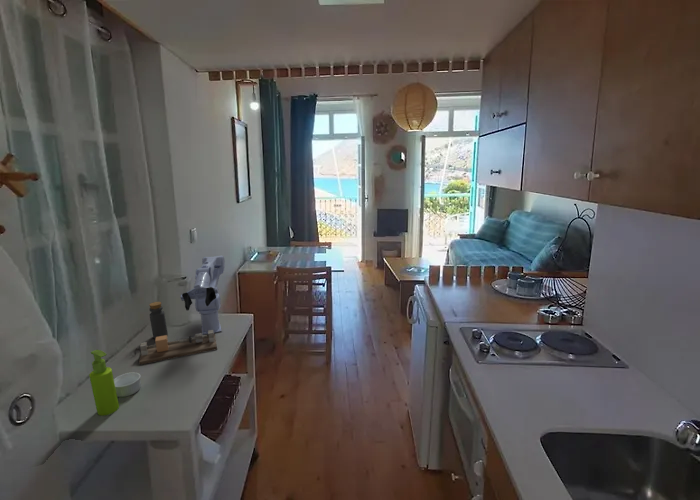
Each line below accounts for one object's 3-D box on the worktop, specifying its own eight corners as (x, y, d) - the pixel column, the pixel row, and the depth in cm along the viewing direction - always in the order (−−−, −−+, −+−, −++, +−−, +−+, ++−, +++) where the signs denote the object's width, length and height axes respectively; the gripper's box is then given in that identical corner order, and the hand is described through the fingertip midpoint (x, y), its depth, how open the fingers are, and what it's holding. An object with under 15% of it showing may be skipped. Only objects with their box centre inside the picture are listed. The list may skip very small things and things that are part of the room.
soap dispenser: (105, 419, 122) (92, 358, 117) (93, 412, 125) (80, 353, 121) (124, 408, 127) (113, 349, 122) (112, 402, 130) (101, 345, 125)
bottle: (170, 334, 178) (165, 302, 175) (158, 340, 173) (152, 307, 170) (162, 331, 181) (157, 300, 178) (150, 337, 177) (144, 304, 173)
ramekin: (126, 400, 131) (124, 388, 130) (106, 395, 134) (104, 384, 133) (148, 385, 139) (146, 374, 138) (129, 381, 142) (127, 370, 141)
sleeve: (157, 348, 162) (155, 337, 161) (168, 346, 164) (166, 335, 163) (157, 352, 159) (155, 341, 158) (168, 350, 160) (166, 339, 159)
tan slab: (142, 350, 165) (140, 338, 164) (215, 336, 175) (213, 325, 173) (139, 364, 153) (137, 352, 152) (217, 349, 163) (215, 337, 162)
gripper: (180, 282, 165) (174, 302, 154) (216, 274, 166) (212, 293, 155) (186, 295, 169) (180, 316, 157) (221, 288, 170) (218, 308, 158)
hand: (196, 306), depth 156 cm, fingers open, 7 cm apart
